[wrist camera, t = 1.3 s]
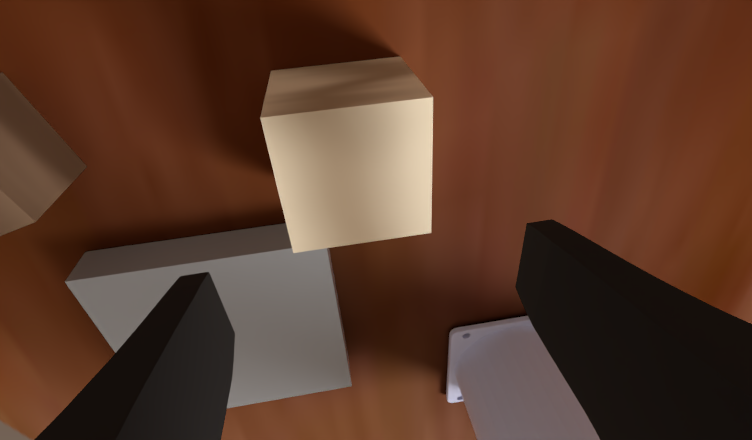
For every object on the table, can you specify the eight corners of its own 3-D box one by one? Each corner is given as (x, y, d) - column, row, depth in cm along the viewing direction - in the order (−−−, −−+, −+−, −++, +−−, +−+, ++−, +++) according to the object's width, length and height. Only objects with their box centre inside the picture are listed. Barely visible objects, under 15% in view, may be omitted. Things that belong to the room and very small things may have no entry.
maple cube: (399, 55, 16) (433, 97, 12) (403, 168, 19) (431, 232, 15) (271, 70, 15) (260, 117, 11) (295, 183, 18) (293, 253, 14)
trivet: (323, 217, 20) (325, 243, 18) (348, 357, 26) (351, 386, 24) (85, 251, 19) (64, 281, 17) (171, 388, 25) (162, 419, 23)
